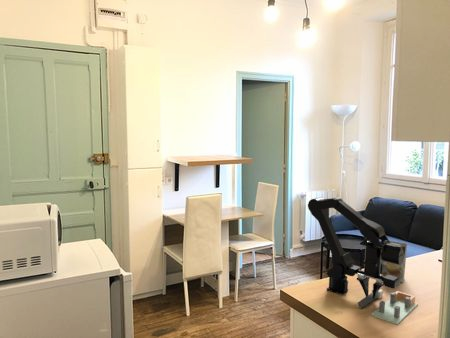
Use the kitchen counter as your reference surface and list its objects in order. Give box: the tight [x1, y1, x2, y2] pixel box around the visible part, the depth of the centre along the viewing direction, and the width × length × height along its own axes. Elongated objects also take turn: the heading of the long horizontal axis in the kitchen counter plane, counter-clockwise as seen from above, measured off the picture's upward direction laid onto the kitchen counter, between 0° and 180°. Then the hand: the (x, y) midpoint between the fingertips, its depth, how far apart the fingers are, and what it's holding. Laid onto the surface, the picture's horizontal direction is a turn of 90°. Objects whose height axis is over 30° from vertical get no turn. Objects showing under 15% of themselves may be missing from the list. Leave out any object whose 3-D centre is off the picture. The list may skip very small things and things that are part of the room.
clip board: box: [370, 290, 419, 325], centre depth 134 cm, size 9×21×4 cm, turn 136°
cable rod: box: [357, 288, 384, 309], centre depth 141 cm, size 3×17×2 cm, turn 136°
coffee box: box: [380, 240, 408, 283], centre depth 164 cm, size 9×6×16 cm
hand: (370, 297), depth 142 cm, fingers closed on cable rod, 2 cm apart
